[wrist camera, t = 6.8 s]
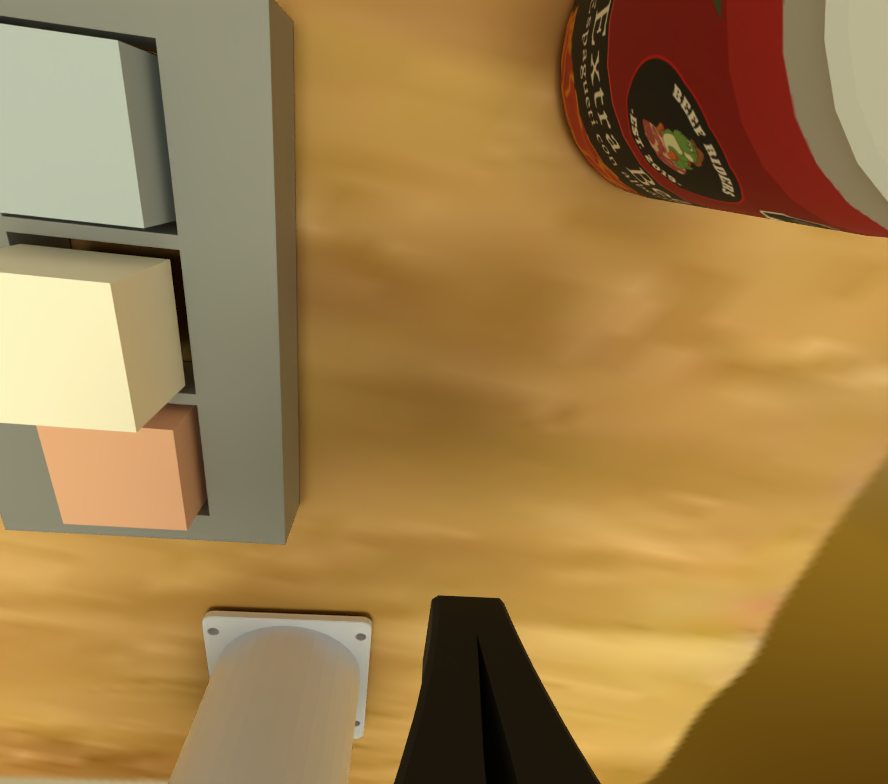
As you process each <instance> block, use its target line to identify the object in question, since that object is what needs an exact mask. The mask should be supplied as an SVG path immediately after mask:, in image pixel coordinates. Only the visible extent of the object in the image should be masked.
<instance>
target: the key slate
mask: <svg viewBox="0 0 888 784" xmlns="http://www.w3.org/2000/svg"><path fill="white" fill-rule="evenodd" d="M0 212H1V213H10V214H19V215H28V216H37V217H46V218H55V219H64V220H74V221H83V222H92V223H101V224H110V225H119V226H128V227H137V228H147V227H151V226H155V225H160V224H164V223H168V222H172V221H176V213H175V205H174V196H173V187H172V178H171V169H170V160H169V152H168V143H167V134H166V125H165V116H164V107H163V99H162V90H161V81H160V72H159V63H158V56H156V55H153V54H151V53H148V52H146V51H143V50H141V49H138V48H136V47H133V46H131V45H128V44H126V43H123V42H121V41H118V40H112V39H105V38H98V37H91V36H84V35H77V34H70V33H63V32H56V31H49V30H42V29H35V28H28V27H21V26H14V25H7V24H0Z"/></svg>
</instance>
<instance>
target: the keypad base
mask: <svg viewBox="0 0 888 784" xmlns="http://www.w3.org/2000/svg"><path fill="white" fill-rule="evenodd" d="M0 24H7V25H14V26H21V27H28V28H35V29H42V30H49V31H56V32H63V33H70V34H77V35H84V36H91V37H98V38H105V39H112V40H118V41H121V42H123V43H126V44H128V45H131V46H133V47H136V48H138V49H141V50H146V51H153V52H157V54H158V63H159V72H160V81H161V90H162V99H163V107H164V116H165V125H166V134H167V143H168V152H169V160H170V169H171V178H172V187H173V196H174V205H175V213H176V221H172V222H168V223H164V224H160V225H155V226H151V227H147V228H137V227H128V226H119V225H110V224H101V223H92V222H83V221H74V220H64V219H55V218H46V217H37V216H28V215H19V214H10V213H1V212H0V248H3V247H8V246H12V245H17V244H27V245H36V246H46V247H56V248H65V249H71V246H70V241H69V238H72V239H82V240H91V241H100V242H110V243H119V244H129V245H138V246H147V247H157V248H166V249H175V250H180V257H181V266H182V275H183V284H184V293H185V302H186V310H187V319H188V328H189V337H190V346H191V355H192V362H183V370H184V378H185V386H184V387H183V388H182V389H181V390H180V391H179V392H178V393H177V394H176V395H175V396H174V397H173V398H172V399H171V400H170V401H169V402H168V403H172V404H185V405H197V408H198V416H199V425H200V434H201V443H202V452H203V461H204V469H205V478H206V487H207V496H208V498H207V499H206V501H205V503H204V504H203V506H202V507H201V509H200V511H199V512H198V514H197V515H196V517H195V519H194V520H193V522H192V523H191V525H190V527H189V528H188V530H187V531H186V530H168V529H150V528H131V527H113V526H95V525H77V524H63V521H62V517H61V513H60V510H59V506H58V503H57V499H56V495H55V492H54V488H53V485H52V481H51V478H50V474H49V470H48V467H47V463H46V460H45V456H44V452H43V449H42V445H41V442H40V438H39V434H38V431H37V427H36V425H25V424H11V423H0V515H1V518H2V521H3V524H4V527H5V529H6V530H18V531H37V532H55V533H74V534H93V535H112V536H131V537H149V538H168V539H187V540H206V541H224V542H243V543H262V544H281V545H285V544H286V541H287V538H288V536H289V533H290V530H291V527H292V524H293V521H294V518H295V515H296V512H297V510H298V507H299V504H300V492H299V417H298V342H297V268H296V193H295V118H294V44H293V21H292V20H291V18H290V17H289V16H288V15H287V14H286V13H285V12H284V11H283V10H282V8H281V7H280V6H279V5H278V4H277V3H276V2H275V1H274V0H0Z"/></svg>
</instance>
